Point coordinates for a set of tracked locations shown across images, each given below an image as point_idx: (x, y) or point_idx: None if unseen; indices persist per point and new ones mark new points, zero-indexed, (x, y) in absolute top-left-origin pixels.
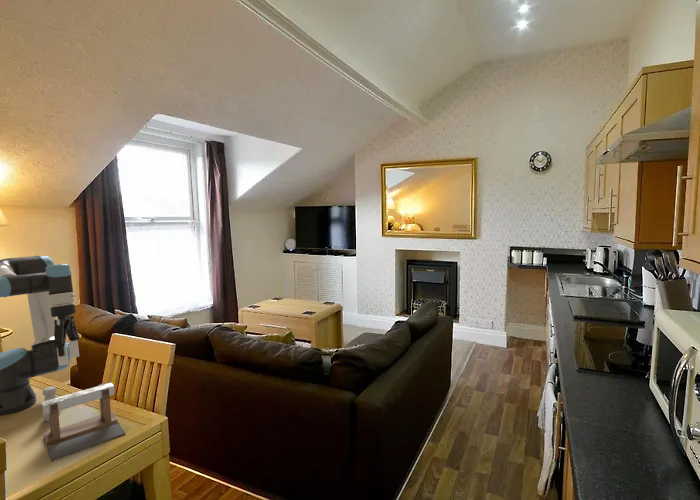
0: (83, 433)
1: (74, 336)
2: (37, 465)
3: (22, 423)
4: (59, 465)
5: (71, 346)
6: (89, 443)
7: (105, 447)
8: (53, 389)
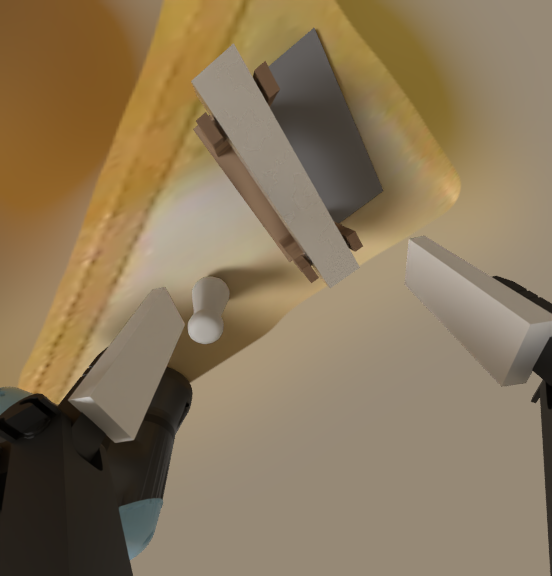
0: None
1: (73, 465)
2: (386, 211)
3: (226, 333)
4: (401, 164)
5: (146, 381)
6: (345, 128)
7: (364, 74)
8: (208, 317)
